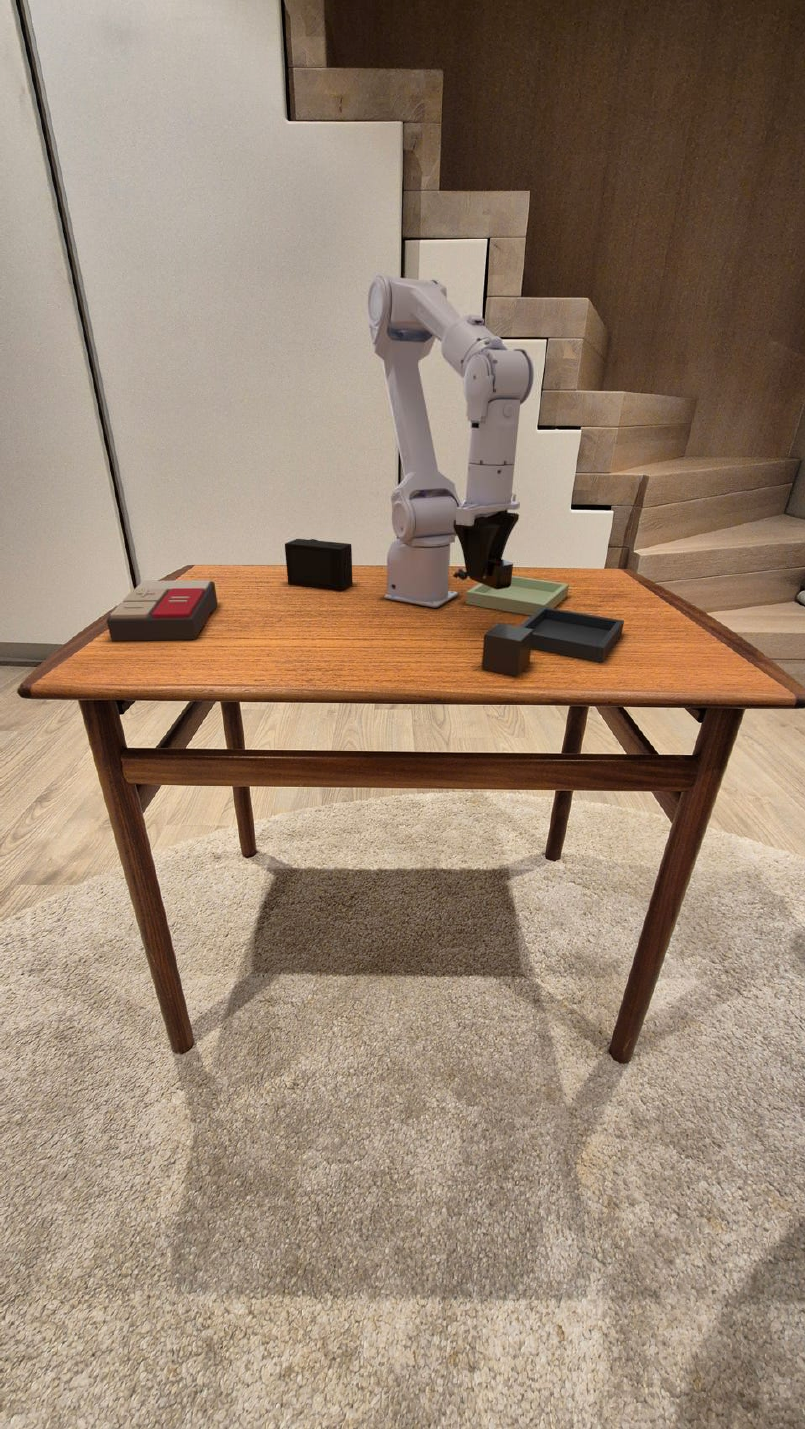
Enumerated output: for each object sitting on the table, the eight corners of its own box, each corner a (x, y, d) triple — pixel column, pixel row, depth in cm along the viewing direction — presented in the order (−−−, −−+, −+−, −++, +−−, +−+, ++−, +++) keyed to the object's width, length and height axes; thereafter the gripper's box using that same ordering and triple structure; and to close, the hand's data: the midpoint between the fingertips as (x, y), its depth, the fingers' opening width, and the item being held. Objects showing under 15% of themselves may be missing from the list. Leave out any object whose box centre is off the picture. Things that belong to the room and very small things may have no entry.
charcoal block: (481, 669, 72) (484, 633, 70) (495, 656, 75) (498, 622, 73) (516, 677, 70) (520, 641, 68) (529, 664, 73) (533, 629, 71)
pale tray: (465, 604, 94) (466, 591, 93) (495, 584, 104) (496, 573, 103) (543, 617, 88) (544, 604, 88) (567, 596, 98) (569, 584, 97)
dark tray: (512, 644, 79) (514, 630, 78) (540, 619, 88) (542, 606, 87) (601, 662, 74) (604, 647, 73) (621, 634, 83) (624, 620, 82)
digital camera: (356, 582, 104) (355, 541, 100) (342, 591, 99) (341, 548, 96) (303, 576, 107) (300, 536, 103) (287, 584, 102) (284, 543, 99)
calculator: (103, 614, 77) (139, 576, 89) (111, 645, 79) (145, 604, 92) (191, 613, 77) (214, 576, 90) (196, 644, 79) (218, 603, 92)
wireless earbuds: (479, 575, 84) (481, 552, 82) (512, 588, 79) (515, 563, 77) (452, 579, 82) (453, 556, 80) (484, 593, 76) (487, 568, 75)
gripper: (499, 471, 67) (489, 590, 73) (541, 460, 78) (529, 564, 84) (442, 466, 70) (437, 581, 76) (491, 456, 81) (483, 557, 87)
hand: (482, 572), depth 80 cm, fingers closed on wireless earbuds, 4 cm apart
